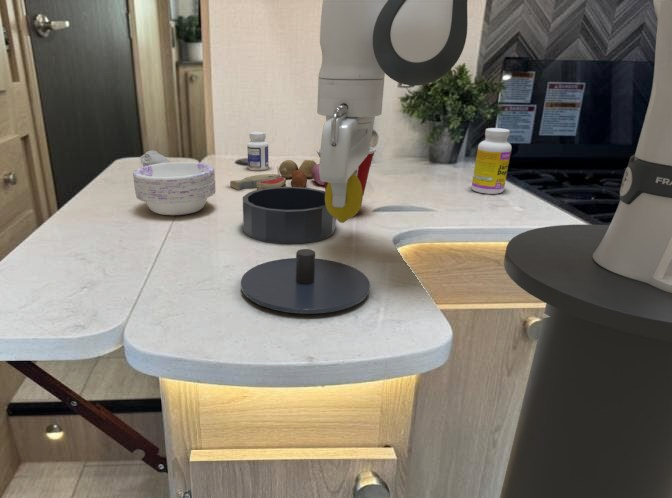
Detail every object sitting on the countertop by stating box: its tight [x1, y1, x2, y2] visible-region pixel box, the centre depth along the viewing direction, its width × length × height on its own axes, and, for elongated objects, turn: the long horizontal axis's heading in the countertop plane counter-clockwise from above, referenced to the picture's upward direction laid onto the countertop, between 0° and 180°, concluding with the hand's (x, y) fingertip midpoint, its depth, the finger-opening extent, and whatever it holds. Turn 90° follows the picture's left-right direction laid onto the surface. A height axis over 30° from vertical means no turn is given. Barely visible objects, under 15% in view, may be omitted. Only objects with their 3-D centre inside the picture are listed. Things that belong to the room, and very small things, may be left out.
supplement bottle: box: [471, 127, 513, 195], centre depth 115 cm, size 7×7×13 cm
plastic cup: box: [316, 146, 377, 215], centre depth 101 cm, size 11×11×12 cm
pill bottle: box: [246, 131, 270, 171], centre depth 137 cm, size 5×5×9 cm
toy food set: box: [229, 159, 325, 191], centre depth 124 cm, size 26×16×4 cm, turn 134°
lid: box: [240, 248, 371, 315], centre depth 71 cm, size 17×17×5 cm
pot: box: [242, 186, 337, 245], centre depth 94 cm, size 16×16×5 cm
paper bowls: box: [132, 161, 216, 216], centre depth 104 cm, size 15×15×8 cm
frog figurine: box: [139, 149, 171, 167], centre depth 125 cm, size 6×7×7 cm
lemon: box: [324, 174, 364, 224], centre depth 80 cm, size 6×6×8 cm
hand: (343, 199), depth 80 cm, fingers closed on lemon, 5 cm apart
